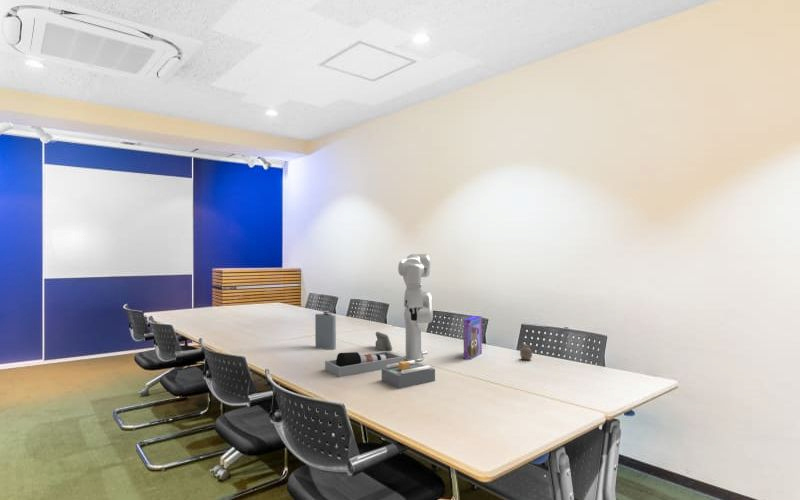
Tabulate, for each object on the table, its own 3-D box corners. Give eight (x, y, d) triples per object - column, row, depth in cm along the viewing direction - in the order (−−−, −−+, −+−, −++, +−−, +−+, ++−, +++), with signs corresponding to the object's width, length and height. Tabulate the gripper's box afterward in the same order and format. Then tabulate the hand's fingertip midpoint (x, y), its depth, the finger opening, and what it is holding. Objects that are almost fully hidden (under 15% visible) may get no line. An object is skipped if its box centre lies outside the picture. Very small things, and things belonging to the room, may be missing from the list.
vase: (525, 361, 266) (525, 346, 266) (517, 359, 272) (517, 344, 272) (534, 360, 269) (534, 345, 269) (526, 357, 275) (526, 343, 275)
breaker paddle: (405, 367, 230) (405, 360, 230) (409, 369, 227) (409, 362, 227) (398, 368, 228) (398, 362, 228) (403, 370, 224) (403, 363, 224)
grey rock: (393, 351, 295) (393, 334, 295) (379, 352, 292) (379, 335, 292) (386, 345, 310) (386, 330, 310) (373, 346, 308) (373, 331, 308)
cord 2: (428, 368, 229) (428, 364, 229) (431, 369, 227) (431, 365, 227) (399, 374, 219) (399, 370, 219) (402, 375, 217) (402, 371, 217)
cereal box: (470, 359, 271) (470, 319, 271) (463, 358, 274) (463, 319, 274) (481, 353, 286) (481, 316, 286) (474, 352, 288) (474, 315, 288)
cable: (392, 371, 261) (397, 358, 258) (341, 375, 241) (346, 360, 238) (384, 360, 269) (389, 347, 265) (334, 363, 249) (339, 348, 246)
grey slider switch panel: (416, 373, 241) (416, 362, 241) (435, 380, 228) (435, 368, 228) (381, 380, 229) (381, 368, 229) (399, 388, 216) (399, 375, 216)
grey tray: (387, 359, 272) (387, 351, 272) (403, 365, 258) (403, 356, 258) (325, 370, 249) (325, 361, 249) (338, 377, 235) (338, 367, 235)
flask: (337, 348, 302) (337, 311, 302) (333, 349, 298) (332, 312, 298) (319, 345, 312) (319, 309, 312) (314, 346, 308) (314, 310, 308)
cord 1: (413, 363, 240) (413, 359, 240) (416, 363, 238) (416, 360, 238) (385, 368, 230) (385, 364, 230) (387, 369, 228) (387, 365, 228)
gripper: (420, 284, 249) (420, 317, 250) (398, 287, 241) (398, 320, 242) (429, 286, 243) (429, 319, 244) (406, 288, 235) (406, 323, 235)
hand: (414, 320), depth 243 cm, fingers closed
